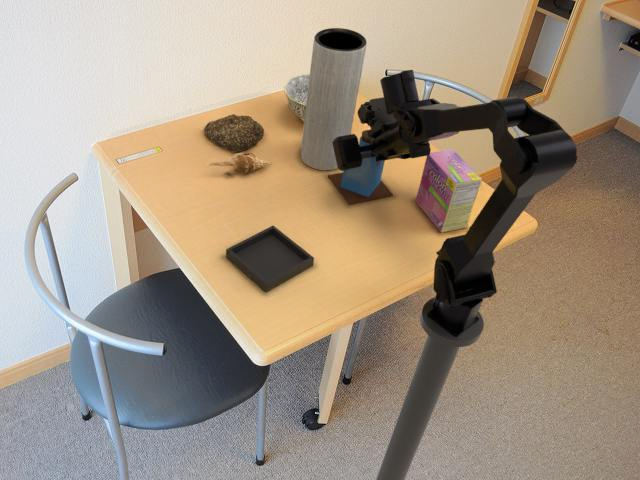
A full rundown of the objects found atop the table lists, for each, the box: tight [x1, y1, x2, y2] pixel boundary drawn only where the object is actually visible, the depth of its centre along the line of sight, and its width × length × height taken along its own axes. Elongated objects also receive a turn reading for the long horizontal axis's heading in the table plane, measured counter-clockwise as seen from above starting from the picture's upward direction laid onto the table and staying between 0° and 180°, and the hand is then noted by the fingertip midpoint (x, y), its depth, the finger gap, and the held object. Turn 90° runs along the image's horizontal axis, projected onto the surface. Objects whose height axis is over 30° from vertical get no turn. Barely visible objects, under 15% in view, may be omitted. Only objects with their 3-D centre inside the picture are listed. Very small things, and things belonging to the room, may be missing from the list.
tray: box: [225, 225, 315, 293], centre depth 118 cm, size 11×11×2 cm
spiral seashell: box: [207, 151, 273, 177], centre depth 137 cm, size 14×5×4 cm, turn 127°
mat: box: [327, 172, 394, 206], centre depth 136 cm, size 10×10×1 cm
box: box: [415, 148, 483, 233], centre depth 126 cm, size 10×6×12 cm, turn 17°
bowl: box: [283, 73, 310, 123], centre depth 152 cm, size 16×16×8 cm
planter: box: [300, 27, 368, 171], centre depth 134 cm, size 10×10×27 cm
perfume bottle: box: [341, 129, 386, 197], centre depth 132 cm, size 6×6×12 cm
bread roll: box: [203, 113, 265, 153], centre depth 147 cm, size 13×12×5 cm
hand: (362, 155), depth 132 cm, fingers closed on perfume bottle, 9 cm apart
